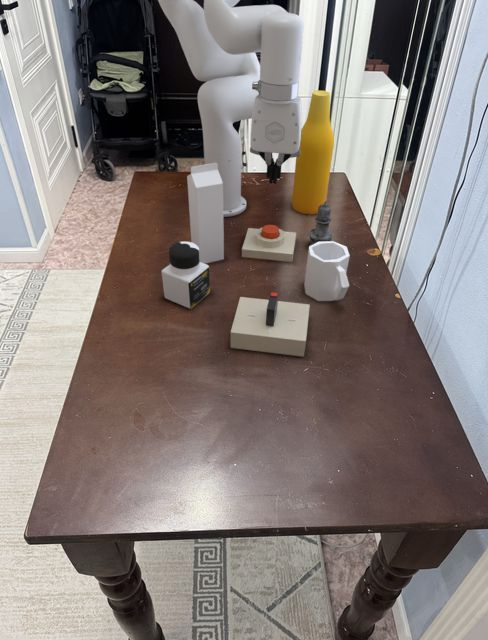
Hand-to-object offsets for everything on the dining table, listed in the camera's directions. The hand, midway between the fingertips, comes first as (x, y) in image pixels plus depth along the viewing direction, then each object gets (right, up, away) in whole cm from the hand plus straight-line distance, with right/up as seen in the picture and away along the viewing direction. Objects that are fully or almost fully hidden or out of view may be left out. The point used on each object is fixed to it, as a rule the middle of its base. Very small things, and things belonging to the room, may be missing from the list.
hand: (273, 180), depth 108 cm
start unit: (0, -12, +12) cm, 17 cm away
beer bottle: (+11, +2, +28) cm, 30 cm away
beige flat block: (-1, -34, -11) cm, 36 cm away
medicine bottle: (-19, -26, -2) cm, 32 cm away
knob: (-1, -31, -14) cm, 34 cm away
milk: (-15, -15, +9) cm, 23 cm away
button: (0, -10, +9) cm, 14 cm away
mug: (+12, -25, -1) cm, 28 cm away
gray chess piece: (+12, -12, +13) cm, 21 cm away
